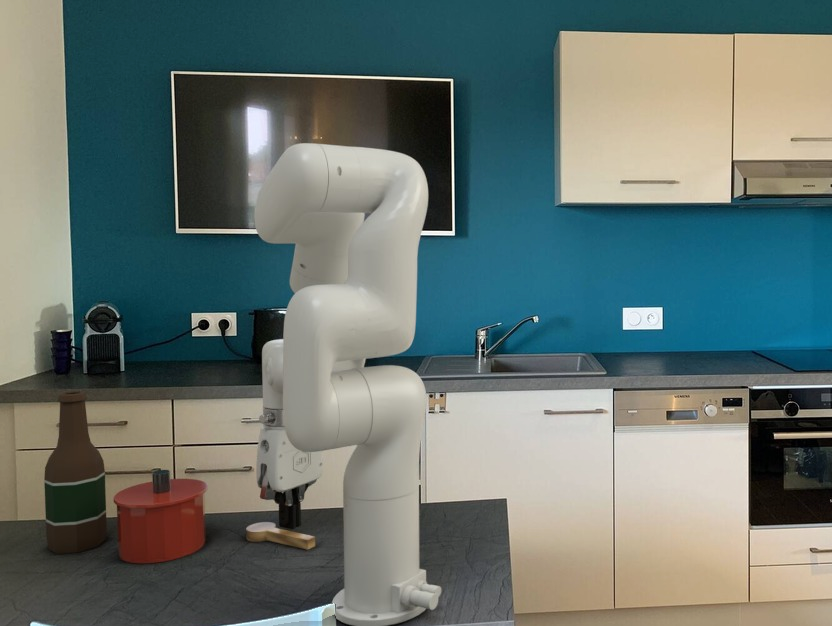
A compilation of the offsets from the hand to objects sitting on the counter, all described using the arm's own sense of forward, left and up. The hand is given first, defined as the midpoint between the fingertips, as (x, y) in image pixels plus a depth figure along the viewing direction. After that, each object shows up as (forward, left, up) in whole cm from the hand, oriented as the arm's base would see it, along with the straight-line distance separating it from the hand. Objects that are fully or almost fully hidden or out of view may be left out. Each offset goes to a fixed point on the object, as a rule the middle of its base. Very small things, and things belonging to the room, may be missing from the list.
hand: (290, 526), depth 127 cm
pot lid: (+12, +13, +7) cm, 20 cm away
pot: (+12, +13, -1) cm, 18 cm away
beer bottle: (+25, +18, -1) cm, 31 cm away
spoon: (-1, +3, -1) cm, 4 cm away
